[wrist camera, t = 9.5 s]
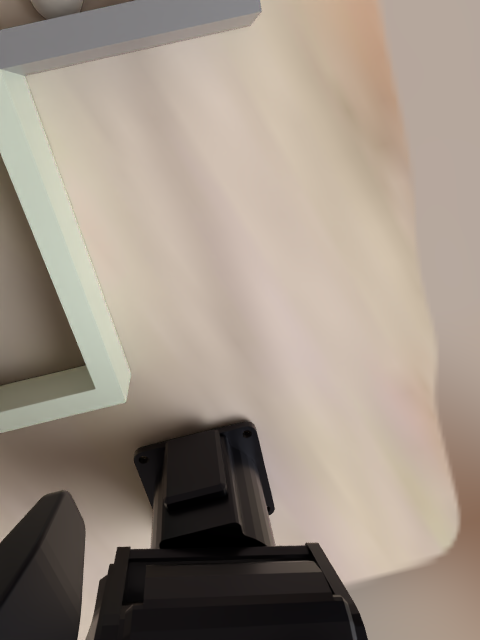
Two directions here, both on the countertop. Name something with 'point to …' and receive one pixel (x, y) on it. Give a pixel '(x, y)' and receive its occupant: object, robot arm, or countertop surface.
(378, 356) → the countertop surface
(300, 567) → the robot arm
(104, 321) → the sage bin
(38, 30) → the bin
